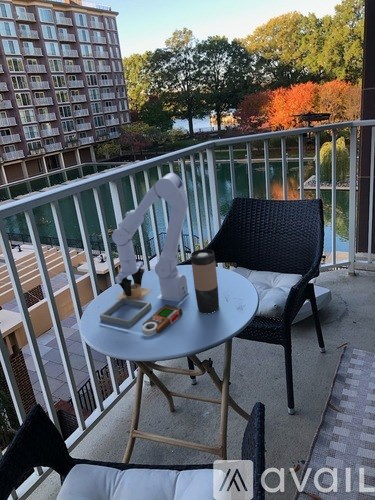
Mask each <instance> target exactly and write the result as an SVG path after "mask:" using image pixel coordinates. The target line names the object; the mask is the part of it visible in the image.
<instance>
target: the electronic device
mask: <svg viewBox="0 0 375 500" xmlns="http://www.w3.org/2000/svg"><path fill="white" fill-rule="evenodd" d="M182 315H183V309H182V308H181V307H178V306H175V305H170V304H166V303H165V304H164V305H163V306H162V307H161V308H159V309H158V311H156V312H155V313H154V314H153V315H151V316H150V317H149V318H148V319H146V321H144V322H143V323H142V331H143V335H144V336H148V337H150V336H154V335H156V334H158V335H161V334H162V333H163V332H164V331H165V330H166V329H167V328H169V327H170V326H171V325H173V324H174V323H175V322H176V321H177V320H179V318H180V317H181V316H182Z"/></svg>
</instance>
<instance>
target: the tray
mask: <svg viewBox="0 0 375 500" xmlns="http://www.w3.org/2000/svg"><path fill="white" fill-rule="evenodd" d="M124 304H125V305H130V306H135V307H141V308H140V310H139V311H137V312H136V313H135V314H134V315H133V316H132V317H131V318H129V319H124V318H119V317H114V316H111V315H112V314H113V313H114V312H115V311H116V310H118V309H119V308H120V307H121V306H122V305H124ZM152 308H153V307H152V302H149V301H143V300H140V301H139V300H133V299H128V298H121V299H118V301H116V302H115V303H114V304H112V305H111V306H110V307H108V308H107V309H106V310H105V311H103V312H102V313H101V314H100V315H99V318H100V321H103V322H107V323H111V324H116V325H121V326H123V327H129V328H131V327H132V326H133V325H134V324H136V323H137V322H138V321H139V320H140V319H141V318H143V316H144V315H145V314H146V313H148V312H149V311H150V310H151V309H152Z"/></svg>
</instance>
